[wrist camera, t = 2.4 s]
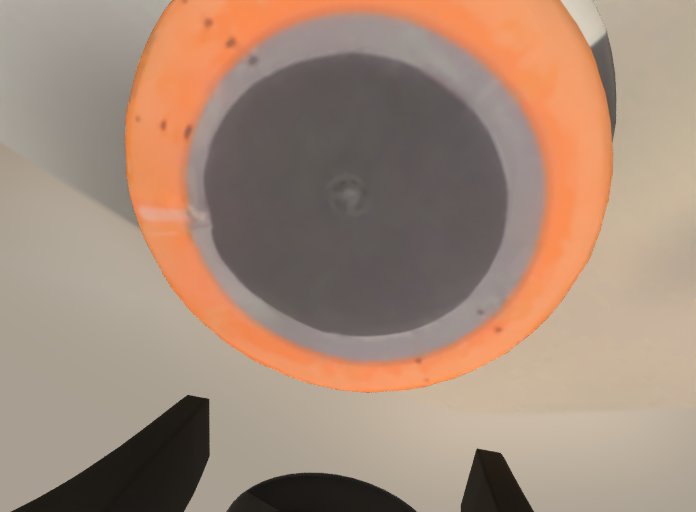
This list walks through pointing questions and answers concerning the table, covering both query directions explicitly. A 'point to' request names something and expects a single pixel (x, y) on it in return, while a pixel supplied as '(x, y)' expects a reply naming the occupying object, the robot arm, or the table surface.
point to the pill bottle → (372, 176)
